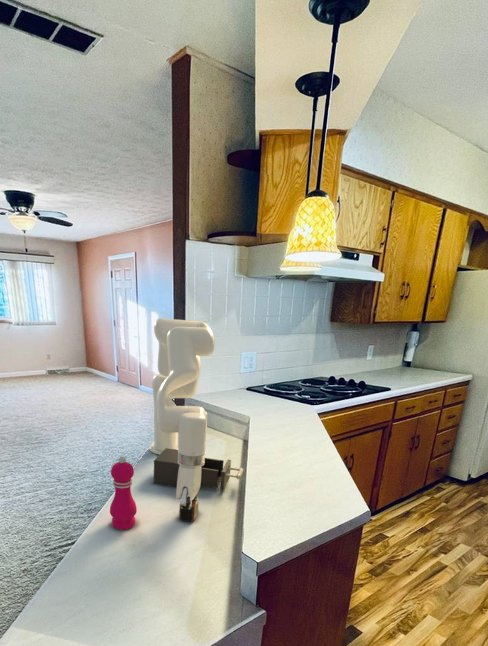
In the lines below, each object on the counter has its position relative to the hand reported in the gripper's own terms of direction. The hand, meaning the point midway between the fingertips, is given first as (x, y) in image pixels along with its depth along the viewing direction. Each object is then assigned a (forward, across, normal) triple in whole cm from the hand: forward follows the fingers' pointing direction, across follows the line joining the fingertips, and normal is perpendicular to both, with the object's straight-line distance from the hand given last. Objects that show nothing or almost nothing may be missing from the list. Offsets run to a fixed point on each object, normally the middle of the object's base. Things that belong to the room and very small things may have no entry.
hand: (188, 515), depth 120 cm
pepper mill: (+1, +10, -16) cm, 19 cm away
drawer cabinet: (0, -24, -10) cm, 26 cm away
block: (0, 0, 0) cm, 0 cm away
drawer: (-1, -24, +3) cm, 24 cm away
